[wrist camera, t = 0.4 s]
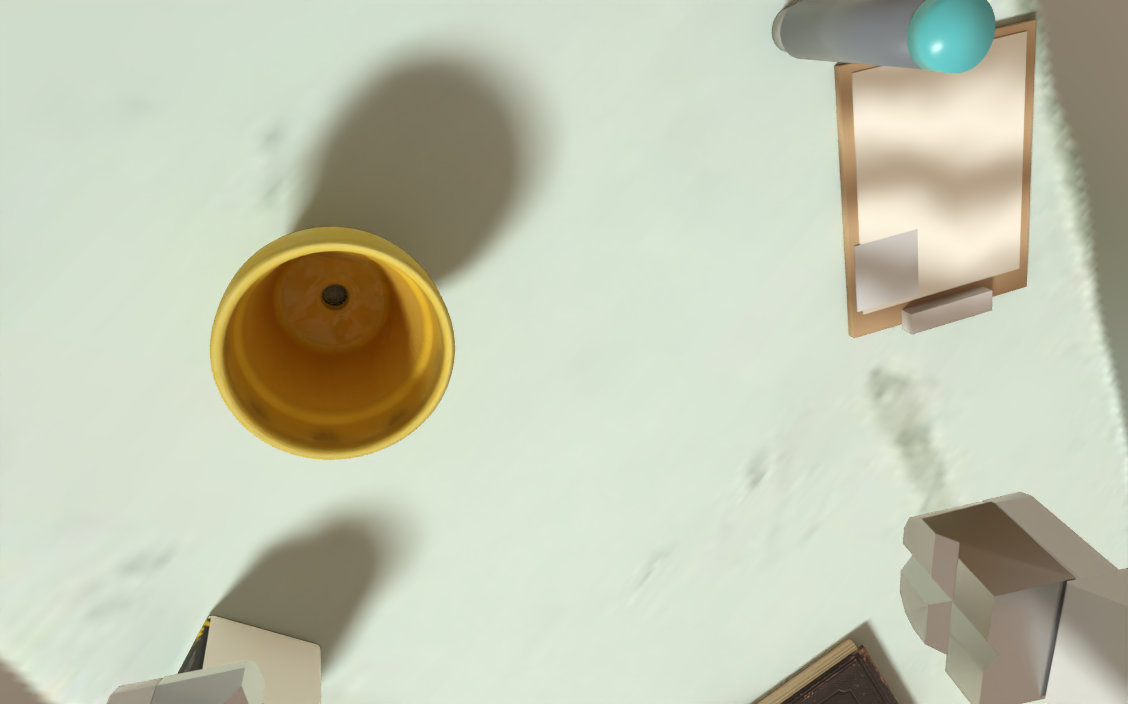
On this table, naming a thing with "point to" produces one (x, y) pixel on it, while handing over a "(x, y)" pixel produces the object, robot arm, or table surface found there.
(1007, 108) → the clipboard
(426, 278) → the plant pot
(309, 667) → the medicine bottle
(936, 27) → the marker
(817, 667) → the hardcover book
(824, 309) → the table surface
